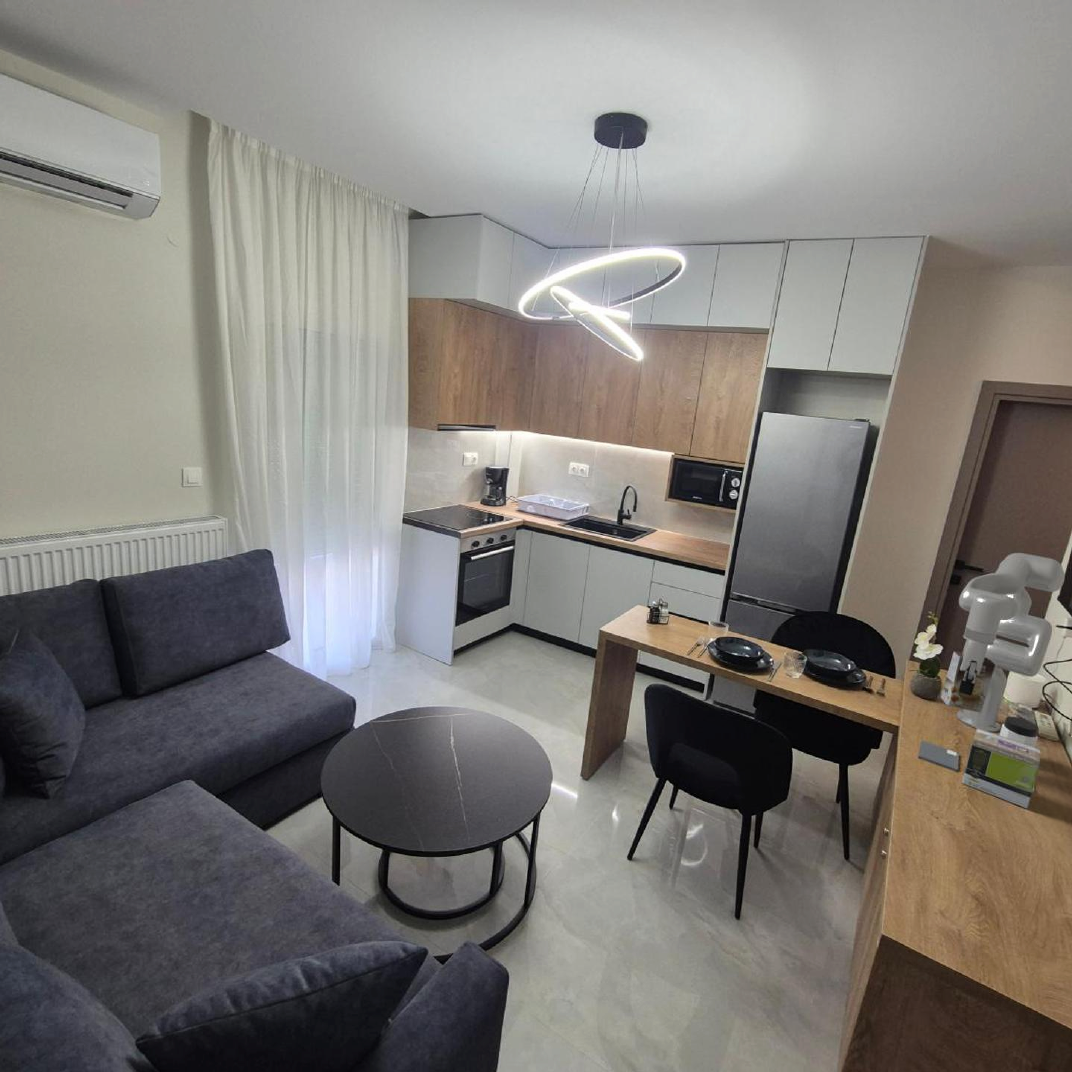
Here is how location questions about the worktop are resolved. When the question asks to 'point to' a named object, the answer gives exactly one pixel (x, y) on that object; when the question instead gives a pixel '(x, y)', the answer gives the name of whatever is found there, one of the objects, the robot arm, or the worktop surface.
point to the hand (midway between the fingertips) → (965, 689)
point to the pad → (939, 755)
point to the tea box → (1002, 767)
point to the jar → (1020, 730)
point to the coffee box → (954, 681)
